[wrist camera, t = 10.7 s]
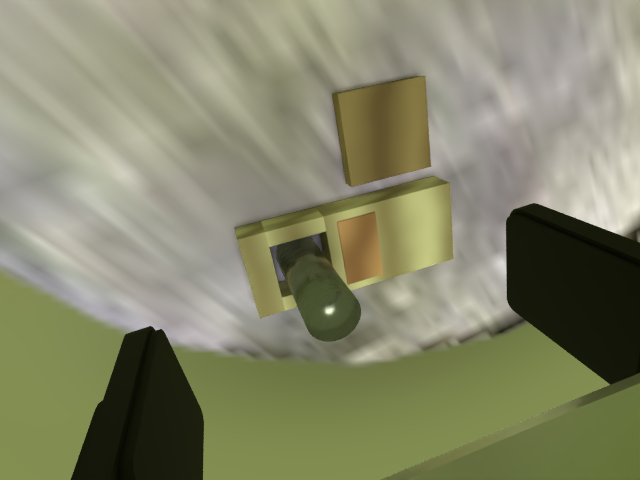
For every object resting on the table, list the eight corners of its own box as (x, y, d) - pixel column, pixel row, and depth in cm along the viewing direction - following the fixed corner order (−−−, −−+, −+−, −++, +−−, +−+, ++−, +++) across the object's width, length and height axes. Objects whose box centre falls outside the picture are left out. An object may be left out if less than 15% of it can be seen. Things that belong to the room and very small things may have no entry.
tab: (416, 76, 35) (425, 75, 34) (422, 163, 38) (430, 166, 37) (332, 94, 34) (337, 94, 32) (346, 183, 37) (351, 186, 36)
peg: (312, 228, 38) (356, 283, 27) (319, 264, 39) (364, 331, 28) (271, 239, 37) (300, 300, 26) (280, 276, 38) (311, 348, 28)
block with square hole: (432, 176, 39) (451, 183, 36) (437, 247, 42) (454, 259, 39) (234, 228, 35) (237, 240, 33) (256, 302, 39) (260, 319, 36)
